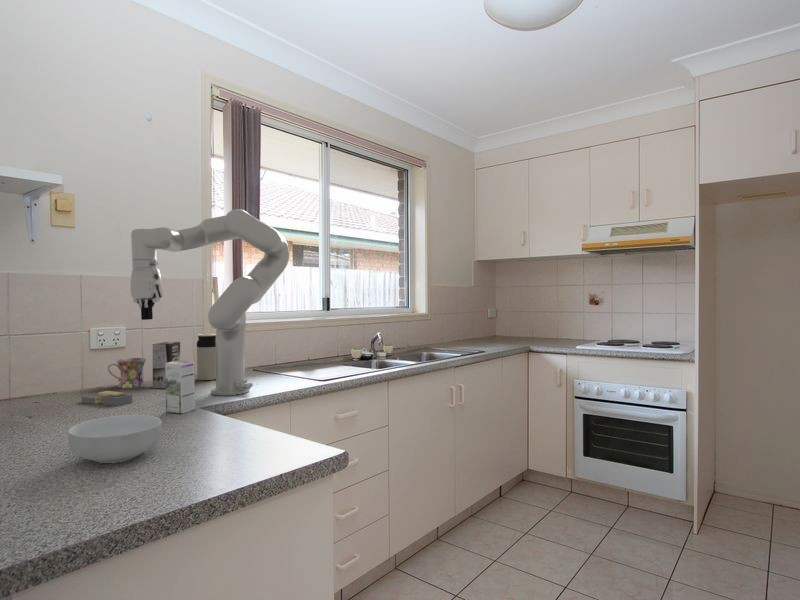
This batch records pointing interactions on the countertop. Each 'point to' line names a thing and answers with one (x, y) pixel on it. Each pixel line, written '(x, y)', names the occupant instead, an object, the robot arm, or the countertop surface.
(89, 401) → the grey tray
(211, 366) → the travel mug
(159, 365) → the coffee box
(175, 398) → the syrup box
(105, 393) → the latch bolt
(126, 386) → the mug
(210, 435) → the countertop surface
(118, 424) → the cereal bowl
